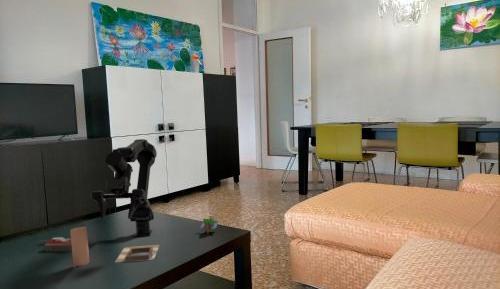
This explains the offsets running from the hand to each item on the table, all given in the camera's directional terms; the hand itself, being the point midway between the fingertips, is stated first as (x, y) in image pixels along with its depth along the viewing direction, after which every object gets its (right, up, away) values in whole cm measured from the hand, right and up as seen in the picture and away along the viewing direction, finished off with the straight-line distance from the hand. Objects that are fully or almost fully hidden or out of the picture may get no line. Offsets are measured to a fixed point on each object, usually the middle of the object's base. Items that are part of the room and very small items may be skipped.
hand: (115, 219), depth 129 cm
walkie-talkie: (-30, -15, +18) cm, 38 cm away
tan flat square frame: (+7, -14, +4) cm, 16 cm away
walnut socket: (+8, -13, +1) cm, 15 cm away
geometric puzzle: (+30, -11, +26) cm, 41 cm away
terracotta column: (-11, -16, -2) cm, 19 cm away
